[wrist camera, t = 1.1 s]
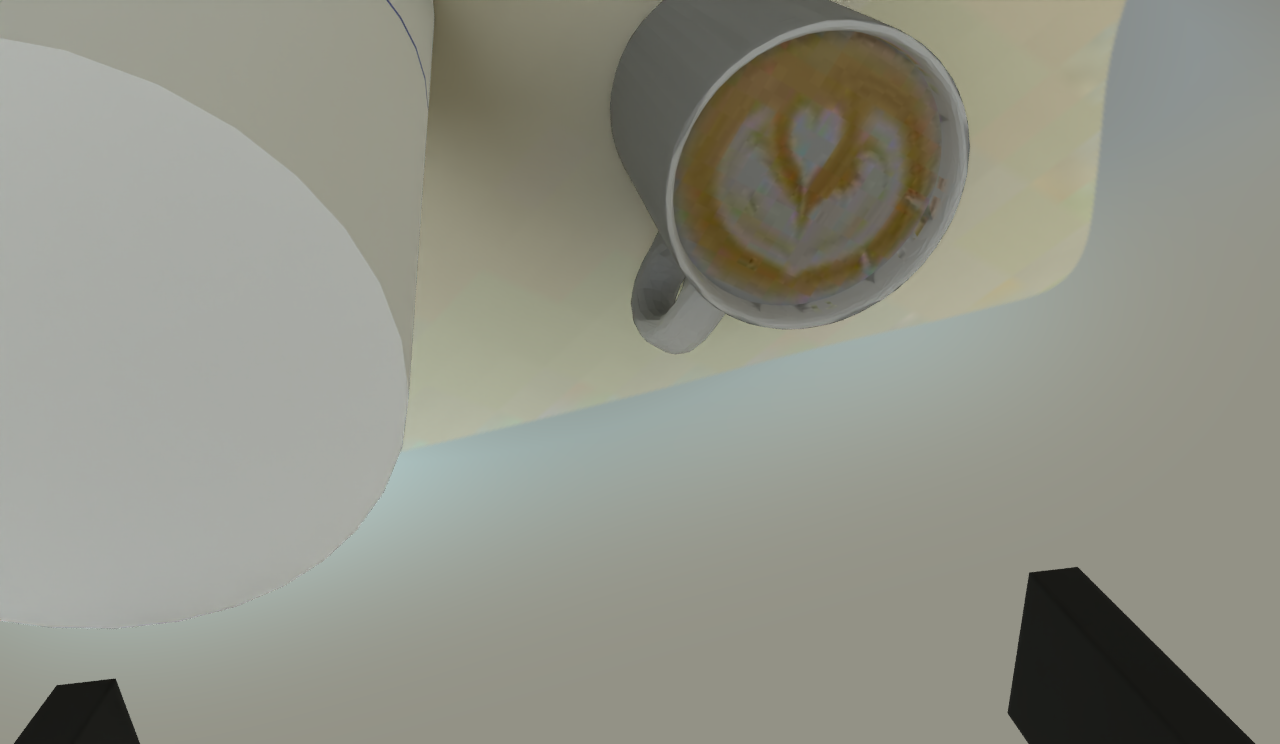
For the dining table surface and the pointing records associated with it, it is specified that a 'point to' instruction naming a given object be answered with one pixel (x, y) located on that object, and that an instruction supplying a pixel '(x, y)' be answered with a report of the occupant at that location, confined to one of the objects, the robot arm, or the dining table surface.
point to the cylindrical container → (200, 294)
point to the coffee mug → (782, 162)
